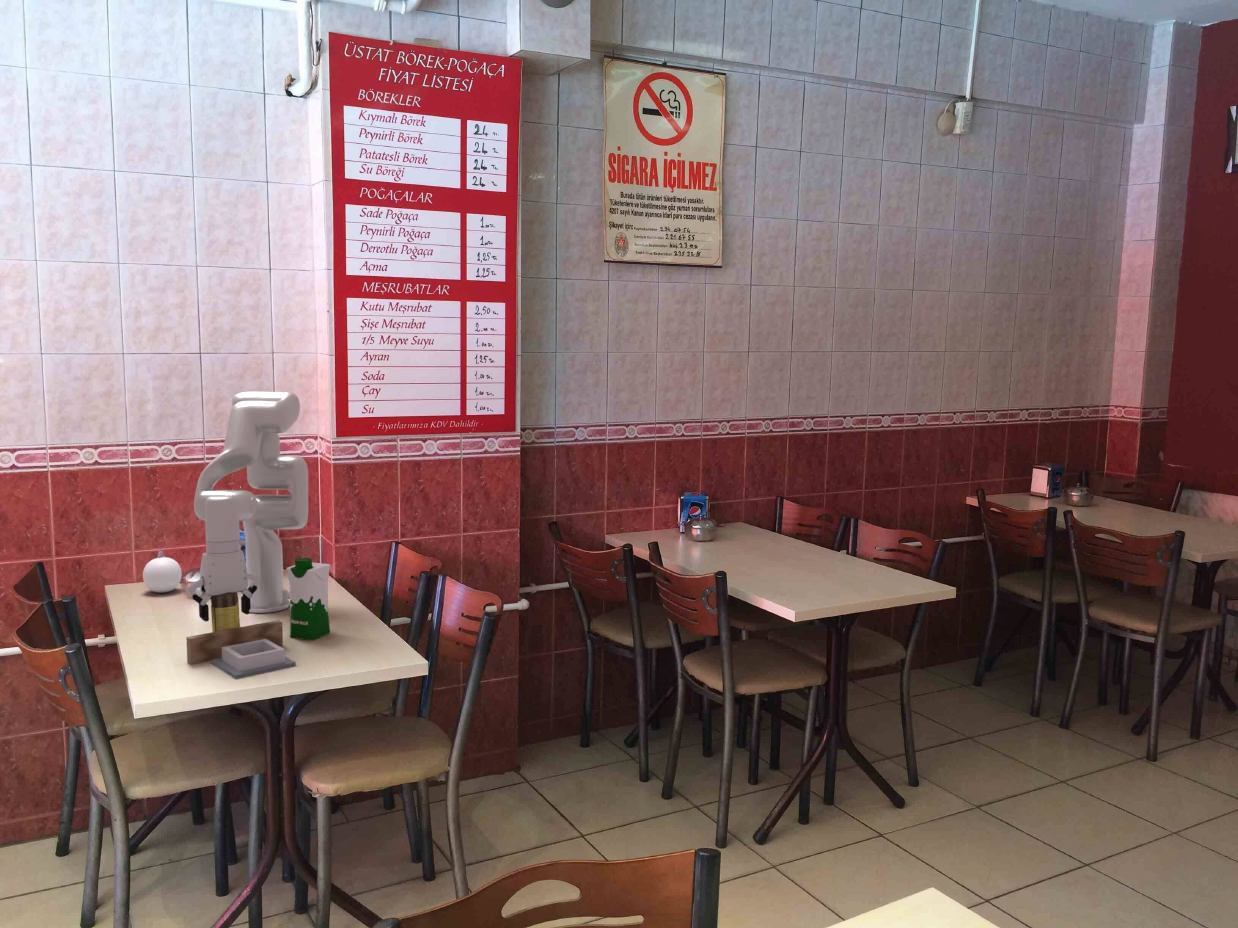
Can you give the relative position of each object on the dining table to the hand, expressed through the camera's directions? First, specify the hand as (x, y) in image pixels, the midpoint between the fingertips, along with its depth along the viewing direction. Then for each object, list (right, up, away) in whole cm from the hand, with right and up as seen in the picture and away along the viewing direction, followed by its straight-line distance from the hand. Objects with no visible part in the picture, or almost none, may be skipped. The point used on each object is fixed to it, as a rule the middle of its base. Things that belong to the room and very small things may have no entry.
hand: (225, 616), depth 240 cm
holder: (+11, -9, -10) cm, 18 cm away
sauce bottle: (0, -8, +1) cm, 8 cm away
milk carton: (+17, -7, +12) cm, 22 cm away
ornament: (-39, -1, +52) cm, 65 cm away
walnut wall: (+4, -8, -3) cm, 10 cm away
